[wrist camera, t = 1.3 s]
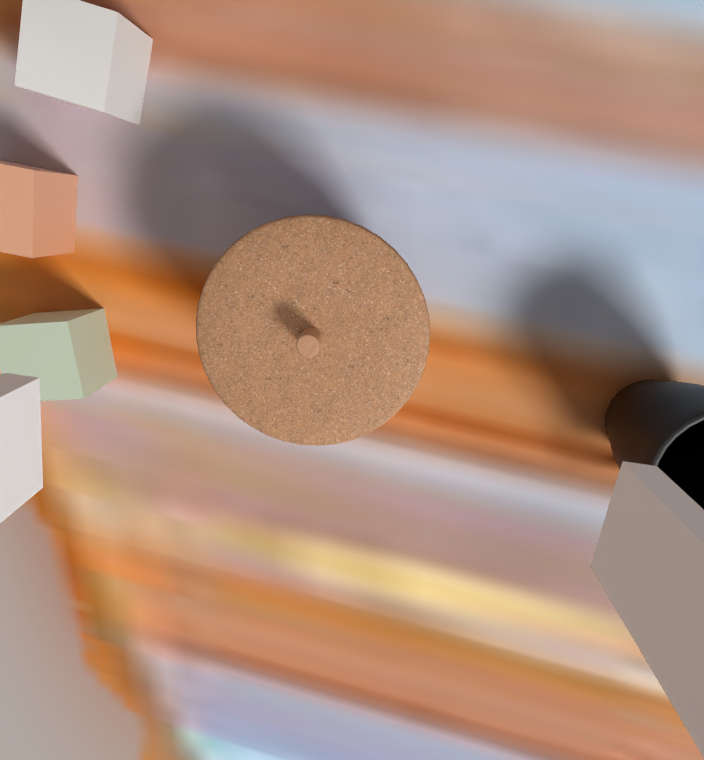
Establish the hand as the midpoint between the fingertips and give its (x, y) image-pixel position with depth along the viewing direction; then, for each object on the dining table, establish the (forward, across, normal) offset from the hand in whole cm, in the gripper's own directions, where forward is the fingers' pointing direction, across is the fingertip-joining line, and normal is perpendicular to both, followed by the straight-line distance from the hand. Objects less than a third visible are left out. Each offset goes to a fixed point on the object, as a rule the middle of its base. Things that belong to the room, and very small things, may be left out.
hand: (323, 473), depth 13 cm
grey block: (+27, -18, +12) cm, 34 cm away
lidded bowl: (+27, -2, -1) cm, 27 cm away
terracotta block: (+27, -22, +3) cm, 35 cm away
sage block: (+27, -20, -6) cm, 34 cm away
